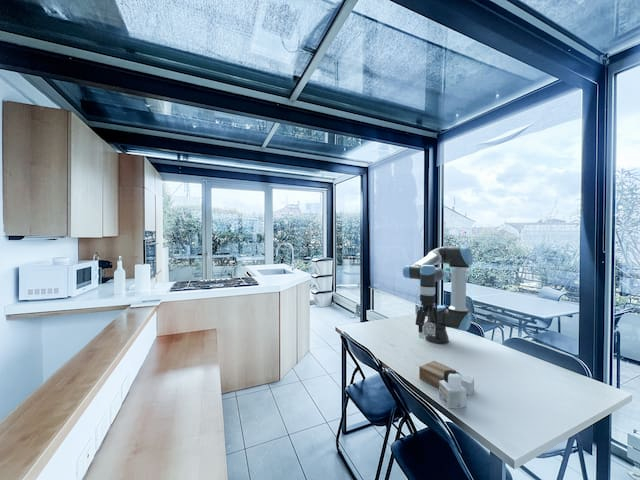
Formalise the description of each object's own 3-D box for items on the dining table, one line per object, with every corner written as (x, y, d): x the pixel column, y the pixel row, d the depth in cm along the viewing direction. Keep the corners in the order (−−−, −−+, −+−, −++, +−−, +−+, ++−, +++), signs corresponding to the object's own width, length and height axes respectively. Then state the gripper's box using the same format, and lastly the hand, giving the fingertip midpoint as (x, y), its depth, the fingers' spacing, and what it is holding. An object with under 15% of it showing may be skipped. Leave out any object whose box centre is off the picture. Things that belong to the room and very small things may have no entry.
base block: (434, 372, 137) (434, 360, 137) (456, 382, 127) (456, 370, 127) (419, 378, 131) (419, 366, 131) (441, 390, 121) (441, 377, 121)
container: (438, 397, 115) (438, 368, 115) (455, 396, 116) (455, 367, 116) (448, 409, 108) (448, 377, 107) (466, 408, 108) (466, 376, 108)
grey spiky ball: (437, 342, 133) (438, 322, 133) (419, 340, 135) (420, 321, 135) (433, 336, 142) (434, 318, 142) (417, 334, 144) (417, 316, 144)
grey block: (459, 385, 125) (459, 373, 125) (474, 390, 121) (474, 377, 120) (456, 391, 120) (456, 378, 120) (470, 396, 116) (470, 383, 116)
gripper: (433, 291, 147) (433, 331, 147) (408, 294, 136) (407, 338, 136) (446, 293, 141) (445, 335, 141) (420, 297, 130) (419, 343, 130)
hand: (427, 336), depth 138 cm, fingers closed on grey spiky ball, 8 cm apart
